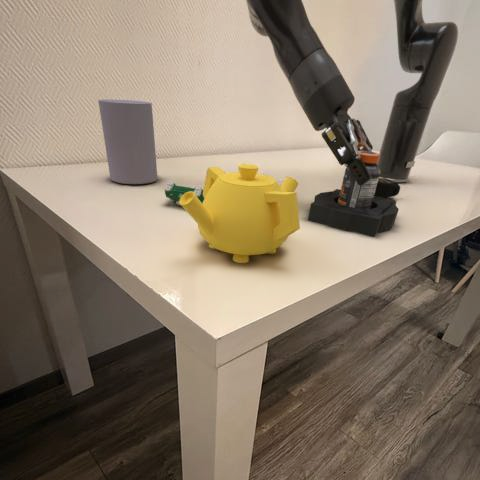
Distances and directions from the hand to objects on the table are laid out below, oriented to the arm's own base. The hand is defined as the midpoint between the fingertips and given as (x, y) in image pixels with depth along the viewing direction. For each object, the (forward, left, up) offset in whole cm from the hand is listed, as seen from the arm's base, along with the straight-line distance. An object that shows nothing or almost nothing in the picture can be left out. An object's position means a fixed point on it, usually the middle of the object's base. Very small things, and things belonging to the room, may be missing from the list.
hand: (370, 179), depth 58 cm
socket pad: (0, -2, -7) cm, 7 cm away
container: (+9, -50, -7) cm, 51 cm away
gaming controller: (+15, -29, -7) cm, 33 cm away
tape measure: (-21, -2, -7) cm, 22 cm away
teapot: (+25, -10, -7) cm, 28 cm away
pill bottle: (0, -2, -7) cm, 8 cm away
